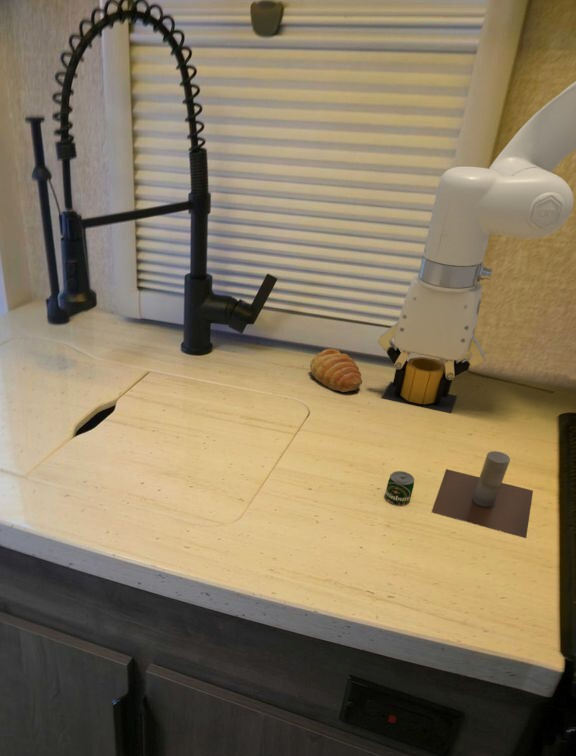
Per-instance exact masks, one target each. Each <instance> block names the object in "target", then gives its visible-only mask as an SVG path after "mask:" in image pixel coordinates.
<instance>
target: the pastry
mask: <svg viewBox="0 0 576 756" xmlns="http://www.w3.org/2000/svg"><path fill="white" fill-rule="evenodd" d="M309 368H310V372H311V375H312V376H313V377H314V378H315V380H316V381H318V382H319V383H322V385H323V386H325V387H327V388H328V389H331V390H332V391H339V392H340V393H347V392H350V391H351V392H352V391H355V390H358V389H359V387H360V386H361V385H362V383H363V379H362V373H361V371H360V369H359V368H360V367H359V366H358V365H357V363H356V362H355V360H354V359H353V358H351V357H350V355H348V354H347V353H341V352H340V350H338V349H335V348H326V349H323V350H322V351H321V352H318V353H317V354H316V355H315V356H314V357H313V358H312V359H311V361H310V363H309Z"/></svg>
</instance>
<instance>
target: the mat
mask: <svg viewBox="0 0 576 756" xmlns="http://www.w3.org/2000/svg"><path fill="white" fill-rule="evenodd" d="M395 390H396V387H395V386H393V381H390V382H389V384H388V386H387V387H386V389H385V391H384V392H383V394H382V396H381V400H385V401H386V400H387V401H392V402H395V403H400V404H405V405H410V406H414V407H419V408H423V409H426V410H427V409H428V410H433V411H436V412H437V411H438V412H442V413H447V414H451V413H452V411H453V408H454V405H455V403H456V401H457V398H458V395H457V394H453V393H448V396H447V398H446V397H442V400H441V402H440V404H436V402H434V403H429V404H418V403H413V402H409V401H407V400H406V399H404V398H403V397H402V396H401V395H395Z"/></svg>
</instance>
